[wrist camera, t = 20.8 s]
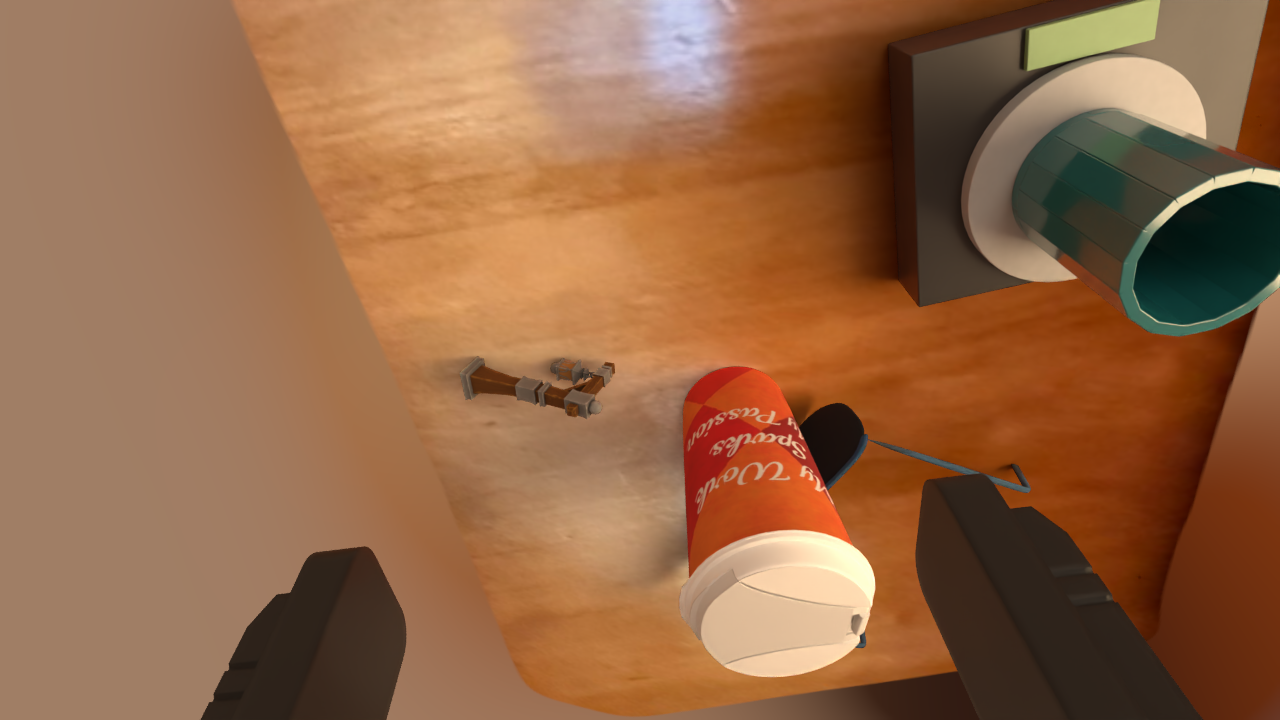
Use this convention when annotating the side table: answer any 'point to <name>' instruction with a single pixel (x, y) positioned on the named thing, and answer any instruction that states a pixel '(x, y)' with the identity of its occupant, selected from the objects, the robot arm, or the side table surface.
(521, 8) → the side table surface
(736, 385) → the coffee cup
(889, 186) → the side table surface
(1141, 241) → the teal open tube
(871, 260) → the side table surface
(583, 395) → the wooden post with brackets
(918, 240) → the scale
